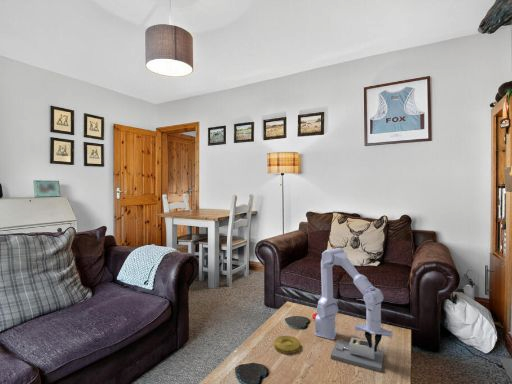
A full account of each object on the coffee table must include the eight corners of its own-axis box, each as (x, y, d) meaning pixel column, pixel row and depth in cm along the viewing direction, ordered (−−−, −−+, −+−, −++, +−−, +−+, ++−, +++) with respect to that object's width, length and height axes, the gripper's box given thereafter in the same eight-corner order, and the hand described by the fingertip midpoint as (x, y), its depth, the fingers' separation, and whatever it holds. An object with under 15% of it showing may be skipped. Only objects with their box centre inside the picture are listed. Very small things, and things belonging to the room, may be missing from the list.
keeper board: (330, 358, 123) (330, 345, 123) (337, 342, 136) (337, 330, 136) (381, 372, 114) (381, 358, 114) (383, 353, 126) (383, 341, 126)
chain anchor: (335, 349, 127) (335, 347, 127) (337, 345, 131) (337, 342, 131) (347, 352, 125) (347, 350, 125) (349, 347, 128) (349, 345, 128)
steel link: (349, 353, 124) (349, 344, 124) (351, 346, 129) (351, 337, 129) (374, 358, 119) (373, 348, 119) (375, 350, 124) (375, 341, 124)
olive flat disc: (305, 351, 129) (305, 346, 129) (281, 357, 125) (281, 352, 125) (292, 338, 140) (292, 333, 140) (270, 343, 136) (270, 338, 136)
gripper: (354, 318, 121) (354, 350, 122) (391, 326, 115) (391, 359, 115) (356, 312, 128) (356, 342, 128) (392, 318, 121) (392, 350, 121)
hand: (373, 349), depth 122 cm, fingers closed on steel link
